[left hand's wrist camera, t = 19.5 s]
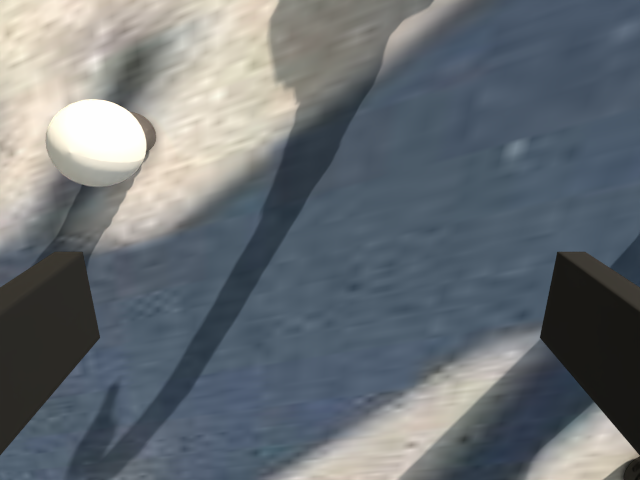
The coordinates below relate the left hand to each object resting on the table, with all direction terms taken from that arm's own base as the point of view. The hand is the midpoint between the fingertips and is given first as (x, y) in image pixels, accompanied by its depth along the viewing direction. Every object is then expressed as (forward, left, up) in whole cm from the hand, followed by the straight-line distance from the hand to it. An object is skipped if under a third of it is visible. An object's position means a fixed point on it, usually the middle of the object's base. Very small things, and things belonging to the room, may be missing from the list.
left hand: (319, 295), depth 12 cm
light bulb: (+17, -5, -31) cm, 36 cm away
